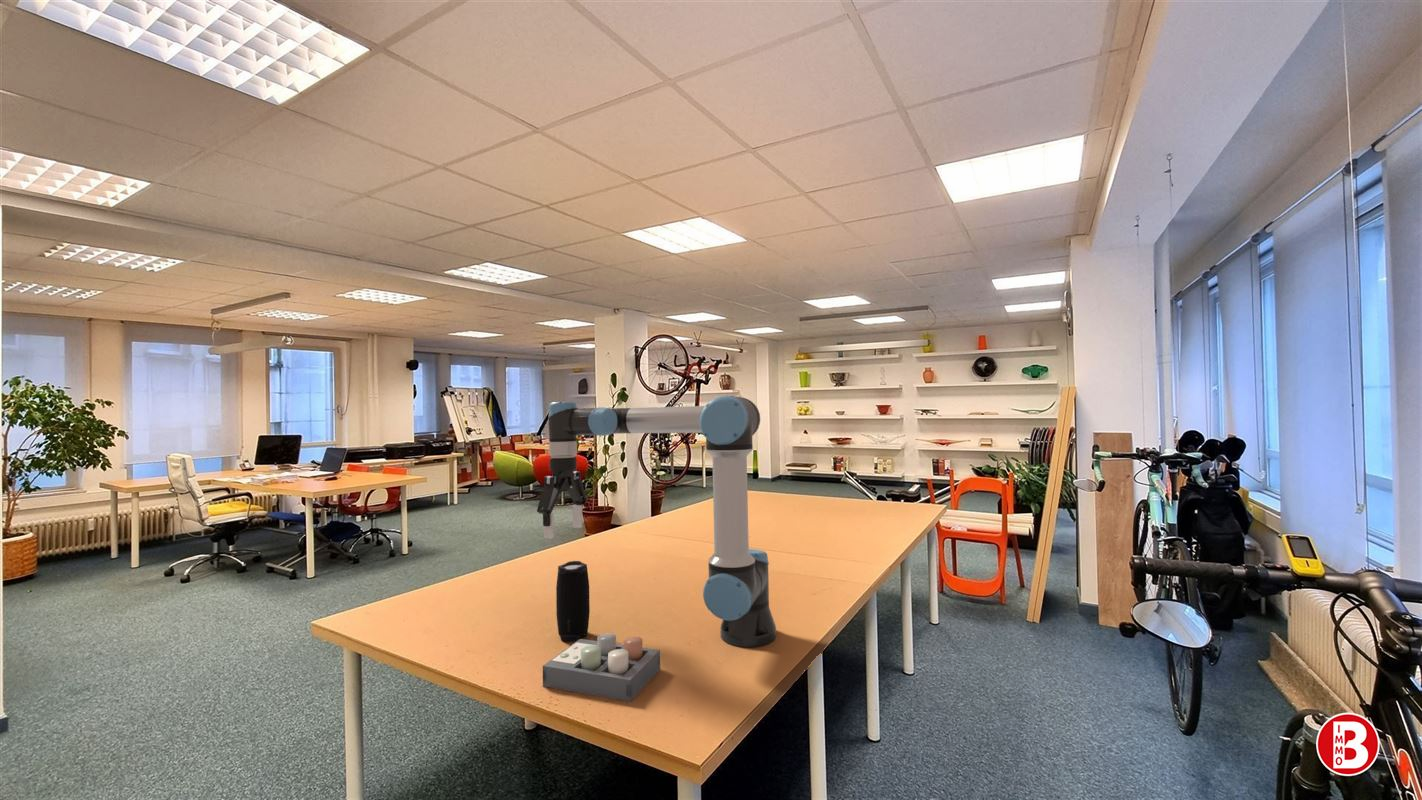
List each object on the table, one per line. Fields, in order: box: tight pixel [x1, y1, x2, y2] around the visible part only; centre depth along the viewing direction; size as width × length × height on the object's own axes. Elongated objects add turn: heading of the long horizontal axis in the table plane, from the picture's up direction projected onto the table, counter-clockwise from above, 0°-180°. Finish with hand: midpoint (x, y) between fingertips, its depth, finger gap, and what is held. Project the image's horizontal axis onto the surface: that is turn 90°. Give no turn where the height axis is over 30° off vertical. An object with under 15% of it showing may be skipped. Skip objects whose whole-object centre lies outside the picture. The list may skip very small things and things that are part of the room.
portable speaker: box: [555, 560, 591, 643], centre depth 146 cm, size 9×9×20 cm
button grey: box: [596, 632, 617, 657], centre depth 126 cm, size 4×4×4 cm
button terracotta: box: [622, 636, 644, 661], centre depth 124 cm, size 4×4×4 cm
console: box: [542, 638, 661, 703], centre depth 123 cm, size 22×15×5 cm
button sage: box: [581, 645, 601, 671], centre depth 120 cm, size 4×4×4 cm
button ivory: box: [608, 649, 629, 675], centre depth 117 cm, size 4×4×4 cm
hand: (563, 532), depth 149 cm, fingers open, 13 cm apart
